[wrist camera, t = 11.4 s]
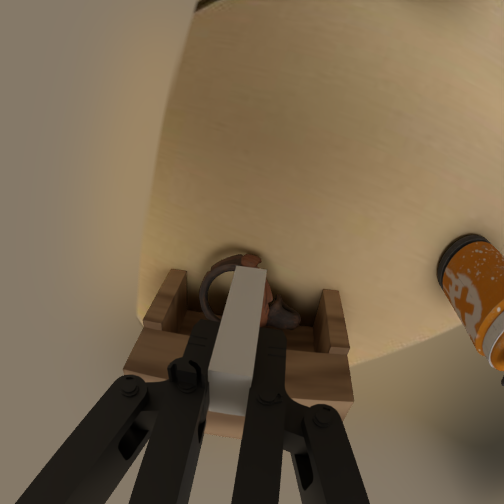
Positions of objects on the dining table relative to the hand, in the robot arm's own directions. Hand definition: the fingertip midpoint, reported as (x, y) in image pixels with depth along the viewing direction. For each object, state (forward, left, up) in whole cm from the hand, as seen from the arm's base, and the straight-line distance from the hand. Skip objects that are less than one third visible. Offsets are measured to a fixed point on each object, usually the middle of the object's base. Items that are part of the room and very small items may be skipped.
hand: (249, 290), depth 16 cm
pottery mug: (+15, +1, -21) cm, 26 cm away
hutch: (+13, 0, -20) cm, 23 cm away
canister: (+6, +28, -20) cm, 35 cm away
